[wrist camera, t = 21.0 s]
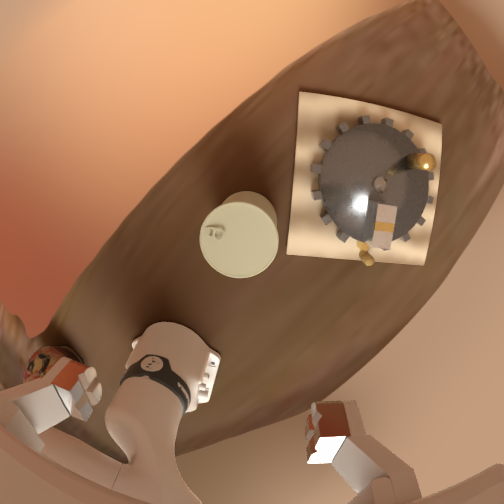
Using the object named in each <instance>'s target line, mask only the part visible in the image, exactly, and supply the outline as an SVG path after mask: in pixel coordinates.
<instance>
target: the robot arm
mask: <svg viewBox="0 0 504 504" xmlns="http://www.w3.org/2000/svg"><path fill="white" fill-rule="evenodd" d="M132 347H133V351H132V353H131V355H130V357H129V359H128V361H127V363H126V369H127V370H126V372H125V373H124V375H123V377H122V380H121V382H120V388H119V389H118V391H117V393H116V394H115V396H114V398H113V400H112V401H111V403H110V405H109V406H108V408H107V410H106V413H105V424H106V427H107V430H108V432H109V433H110V435H111V437H112V438H113V440H114V441H115V442H116V443H117V444H118V445H119V446H120V448H121V449H122V450H123V451H124V453H125V454H126V456H127V458H128V461H129V465H126V464H123V466H122V463H120V462H118V461H116V460H114V459H112V458H111V457H109V456H107V455H105V454H103V453H101V452H100V451H98V450H96V449H94V448H93V447H91V446H89V445H88V444H86V443H84V442H83V441H81V440H79V439H77V438H75V437H73V436H71V435H68V434H66V433H64V432H62V431H60V430H58V429H56V428H53V427H52V426H54V425H56V424H57V423H59V422H61V421H62V420H64V419H66V418H68V417H69V416H70V415H71V416H73V417H76V418H78V419H80V420H83V421H85V422H86V421H87V419H88V418H89V416H90V415H91V413H92V411H93V408H92V406H93V405H95V404H97V403H98V402H99V400H100V398H101V394H102V387H101V384H100V382H99V381H98V380H97V379H96V375H97V373H96V371H95V369H94V368H93V367H90V366H87V365H85V364H82V363H80V362H77V361H75V360H72V359H69V358H67V357H62V358H60V359H59V360H58V361H57V363H56V364H55V365H54V366H53V367H52V368H51V369H50V370H49V371H48V373H47V374H46V375H45V376H44V377H43V378H42V379H41V378H38V379H35V380H32V381H30V382H27V383H24V384H21V385H18V386H15V387H12V388H10V389H7V390H4V391H1V392H0V504H202V502H201V501H200V499H199V498H198V497H197V496H195V494H194V493H193V492H192V491H191V490H190V489H189V488H188V486H187V485H186V484H185V482H184V481H183V479H182V477H181V475H180V473H179V470H178V468H177V465H176V461H175V456H174V445H175V439H176V434H177V430H178V426H179V423H180V419H181V417H182V416H183V415H184V414H185V413H186V412H191V411H194V410H196V408H197V405H198V403H204V402H208V401H209V399H210V396H211V393H212V389H213V386H214V382H215V378H216V375H217V371H218V367H219V364H220V360H221V356H220V355H219V354H218V353H217V352H215V351H214V350H212V349H211V348H209V347H208V346H207V345H206V344H205V342H204V341H203V340H202V339H201V338H200V337H199V336H198V335H197V334H196V333H195V332H193V331H192V330H190V329H189V328H187V327H185V326H183V325H180V324H177V323H172V322H158V323H155V324H152V325H151V326H149V327H148V328H147V329H146V330H145V332H144V333H143V335H142V336H140V337H138V338H136V339H134V341H133V342H132ZM213 362H214V363H213ZM305 434H306V439H307V440H308V442H309V444H308V446H307V461H308V463H327V462H331V464H332V465H333V467H334V468H335V469H336V470H337V471H338V473H339V474H340V475H341V476H342V477H343V478H344V480H345V481H346V482H347V483H348V484H349V485H350V486H351V488H352V489H353V490H354V491H355V492H356V493H357V494H358V495H357V496H356V497H354V498H353V500H351V501H350V502H349V503H348V504H504V465H503V464H495V465H493V466H491V467H489V468H487V469H485V470H484V471H482V472H480V473H478V474H476V475H474V476H472V477H470V478H468V479H467V480H464V481H462V482H460V483H458V484H456V485H454V486H451V487H449V488H447V489H444V490H442V491H439V492H437V493H434V494H432V495H429V496H426V497H423V498H422V496H421V492H420V489H419V486H418V482H417V479H416V476H415V473H414V469H413V468H411V467H410V466H409V465H407V464H406V463H405V462H404V461H402V460H401V459H400V458H398V457H397V456H396V455H395V454H393V453H392V452H391V451H390V450H388V449H387V448H386V447H385V446H383V445H382V444H381V443H380V442H379V441H377V440H376V439H375V438H374V437H372V436H371V435H366V432H365V428H364V425H363V421H362V418H361V415H360V411H359V408H358V404H357V402H356V401H355V400H353V401H352V400H351V401H324V402H313V403H312V406H311V414H310V415H308V418H307V421H306V427H305ZM121 466H122V468H121ZM120 468H121V470H120ZM119 471H120V473H119ZM118 473H119V475H118ZM117 476H118V477H117ZM116 478H117V480H116ZM115 481H116V482H115ZM114 483H115V484H114ZM113 485H114V487H113ZM112 488H113V489H112Z"/></svg>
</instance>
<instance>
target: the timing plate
mask: <svg viewBox="0 0 504 504" xmlns="http://www.w3.org/2000/svg"><path fill="white" fill-rule="evenodd" d="M367 115H369V116H370V120H371V123H376V124H381V119H384V118H389V119H392V120H394V121H393V127H392V128H395V129H397V130H398V131H400V132H402V131H403V130H406V129H409V130H410V131H411V132H412V133H413V134H414V135H413V137H412V139H411V141H412V142H413V143H414V144H415V146H416V147H417V148H418V149H421V148H425V150H426V152H427V153H431V154H433V155H434V157H435V158H436V167H435V169H434V170H432V171H428V170H427V171H428V172H434V180H429V192H428V195H429V196H432V197H434V199H433V203H432V204H429V203H426V206H425V209H424V211H423V213H422V215H421V216H422V217H423V218H424V219H425V220H426V221H425V222H424V224H423V226H420V225H418V224H415V226H414V227H413V228H412V229H411V230H410V231H409V232H408V233H409V235H410V238H411V239H409V240H408V241H407V242H404V241H402V240H401V239H400V238H398V239H396V240H394V241H392V242H391V247H390V248H391V249H390V250H386V251H383V250H382V249H381V248H372V247H370V246H369V248H368V251H364V250H360V249H359V248H358V247H357V243H358V240H356V239H354V238H352V237H349V238H348V239H347V241H346V242H345V243H344V242H343V241H341V240H340V239H338V237H337V236H336V234H337V233H338V231H339V230H340V228H339V227H338V226H337V225H336V224H335V223H334V222H333V221H332V222H330V223H329V224H327V225H325V224H324V223H323V221H322V220H321V218H320V215H322V214H323V213H324V212H326V211H325V209H324V206H323V204H322V201H321V199H319V200H313V199H312V195H311V191H312V190H317V189H319V187H318V174H319V173H314V172H310V171H311V165H312V164H317V165H320V164H321V160H322V158H323V155H324V153H325V151H324V150H323V149H322V148H320V147H319V145H320V143H321V142H322V140H324V139H327V140H328V141H330V142H331V143H332V141H333V140H334V139H335V138H336V137H337V136H339V135H340V133H339V132H338V131H337V129H336V128H335V127H337V126H339V125H340V124H342V123H344V122H346V124H347V125H348V126H349V128H350V129H351V128H353V127H356V126H359V121H358V118H359V117H361V116H367ZM441 146H442V124H439V123H436V122H433V121H430V120H427V119H424V118H421V117H418V116H415V115H412V114H409V113H405V112H402V111H398V110H395V109H391V108H387V107H383V106H379V105H375V104H371V103H366V102H361V101H357V100H352V99H346V98H341V97H335V96H329V95H323V94H316V93H308V92H299V101H298V119H297V135H296V149H295V163H294V175H293V187H292V199H291V210H290V220H289V231H288V240H287V250H286V254H289V255H302V256H314V257H326V258H338V259H351V260H362V261H363V262H364V263H365V264H366V265H367V266H371V265H372V264H373V263H374V261H375V262H387V263H399V264H412V265H424V263H425V258H426V254H427V250H428V245H429V241H430V236H431V230H432V225H433V219H434V213H435V207H436V200H437V193H438V184H439V175H440V163H441Z"/></svg>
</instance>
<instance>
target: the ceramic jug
mask: <svg viewBox="0 0 504 504" xmlns="http://www.w3.org/2000/svg"><path fill="white" fill-rule="evenodd" d="M62 357H67V358H69V359H72V360H75V361H77V362H80V363H82V364H84V362H83V360H82V359H81V358H80V357H79V356H78V354H77V353H76V352H75V351H74V350H72V349H71V348H69V347H67V346H49V345H46V346H44V347H42V348H40V349H38V350H37V351H36V352H35V353H34V354H33V355H32V356H31V358H30V359H29V361H28V363H27V366H26V369H25V374H24V381H23V384H24V383H27V382H30V381H32V380H35V379H38V378H41V379H42V378H43V377H44V376H45V375H46V374H47V373H48V371H49V370H50V369H51V368H52V367H53V366H54V365H55V364H56V363H57V361H58V360H59V359H60V358H62Z"/></svg>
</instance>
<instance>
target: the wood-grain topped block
mask: <svg viewBox="0 0 504 504" xmlns="http://www.w3.org/2000/svg"><path fill="white" fill-rule="evenodd" d="M396 213H397V206H395V205H392V204H389V203H387V202H381V201H375V200H368V205H367V213H366V220H365V226H364V233H363V239H362V240H364V241H365V242H366V243H367V244H368V245H369V246H370V247H372V248H382V249H390V247H391V242H392V237H393V232H394V226H395V219H396Z"/></svg>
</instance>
